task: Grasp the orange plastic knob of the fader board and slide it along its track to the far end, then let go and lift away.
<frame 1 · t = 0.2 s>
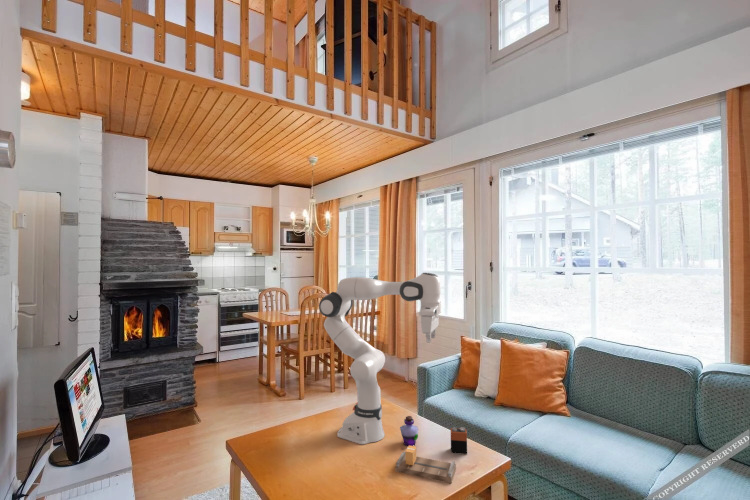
hand: (431, 340, 165), 47 cm above the table, fingers open, 8 cm apart
battery: (458, 451, 160), on the table
potion bottle: (409, 444, 168), on the table
fader knob: (410, 455, 149), point 5 cm above the table, slide at 0.0 cm
fader board: (425, 470, 146), on the table
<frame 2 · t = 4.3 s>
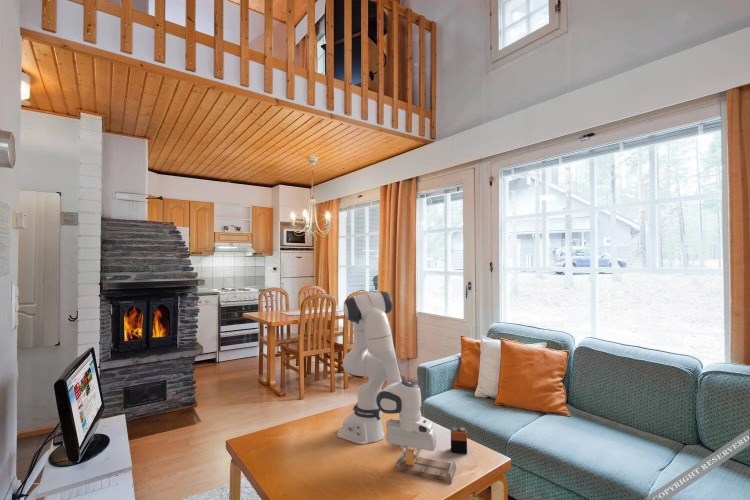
hand: (410, 457, 149), 4 cm above the table, fingers closed on fader knob, 3 cm apart
fader knob: (410, 455, 149), point 5 cm above the table, slide at 0.0 cm, touching gripper
everything else where it was.
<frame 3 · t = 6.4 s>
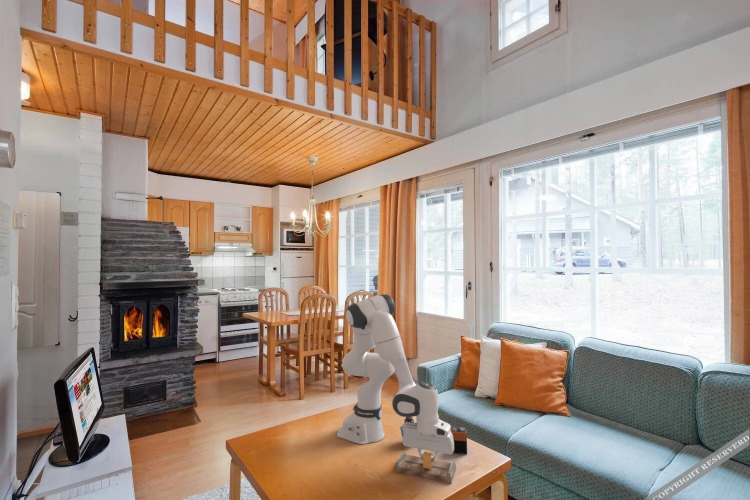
hand: (428, 460, 146), 4 cm above the table, fingers closed on fader knob, 3 cm apart
fader knob: (428, 458, 146), point 5 cm above the table, slide at 7.1 cm, touching gripper
everything else where it was.
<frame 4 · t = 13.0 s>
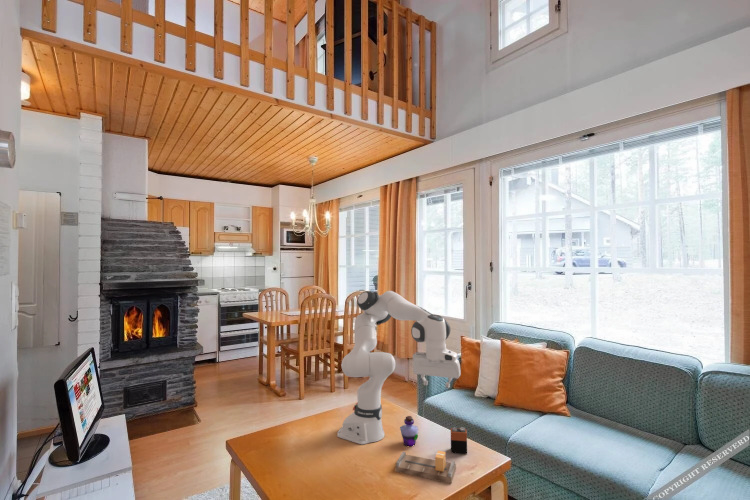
hand: (436, 386, 158), 29 cm above the table, fingers open, 8 cm apart
fader knob: (440, 460, 144), point 5 cm above the table, slide at 12.0 cm
everything else where it was.
at the end: fader knob slide at 12.0 cm; the gripper is holding nothing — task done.
